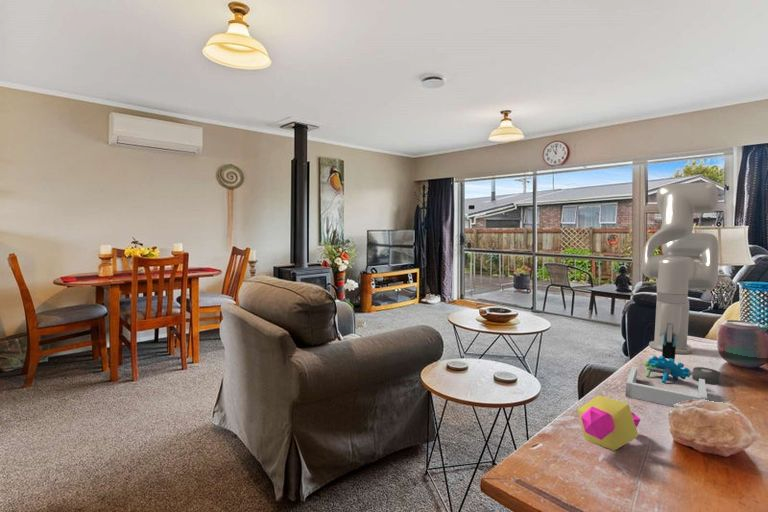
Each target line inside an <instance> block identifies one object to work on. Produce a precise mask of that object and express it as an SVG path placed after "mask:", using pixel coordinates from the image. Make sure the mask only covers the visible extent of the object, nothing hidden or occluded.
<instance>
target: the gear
mask: <svg viewBox="0 0 768 512" xmlns="http://www.w3.org/2000/svg"><path fill="white" fill-rule="evenodd" d="M675 361H676V359H671V358H669V359H667V358H665V357H664V356H662V355H660V356H659V357H657V356H656V355H653V356H652V357H649V358H648V360H646V361H645V363H644V367H646V369H647V372H646V375H645V377H646V378H648V377H649V378H650V376H651V373H657V374H662V375H663V376H662V379H661V382H662V384H666V383H667V380H668V377H669V375H670V376H671V377H672V378H673V379H675V380H676V379H682V380H686V378H690V377H691V373H690V372H691V370H690V369H689V368H688V367H684V366H685V364H684V363H683V362H678V363H677V364H676V362H675Z"/></svg>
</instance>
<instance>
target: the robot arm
mask: <svg viewBox="0 0 768 512" xmlns="http://www.w3.org/2000/svg"><path fill="white" fill-rule="evenodd" d="M656 204H657V208H658V211H659V214H660V217H661V228H659V230H657V231H656V232H654V233H653V234H652V235H651V236H650V237H649V239H648V240H647V241H646V243H645V244H644V247H643V252H642V261H641V271H642V274H643V275H644V276H645V277H647V278H650V279H655V284H656V302H655V303H656V305H655V306H656V307H655V321H654V322H655V323H654V324H655V325H654V326H655V327H654V340H652V341H649V343H648V346H649V347H650V348H652V349H654V350H657V351H660V352H662V353H661V356H664V357H665V359H666V360H669V358H671V359H674V360H676V354H680V355H685V354H691V353H693V348H692V347H691V346H689V345H688V333H689V332H688V331H689V318H690V317H689V315H690V300H689V298H688V296H689V290H699V291H711V290H714V289H715V288H716V287H717V285H718V282H719V281H718V280H719V254H720V253H719V252H720V251H719V240H718V238H717V236H716V235H714V234H713V233H708V232H693V230H694V216H695V215H694V214H711V213H712V214H713V213H714V212H715V211H716V210H717V208H718V207H719V206H718V205H719V192H718V188H717V185H716V184H715V183H714V182H688V183H686V182H684V183H683V182H682V183H671V184H665V185H662V186H660V187H659V188H658V189H657V191H656ZM660 246H661V251H662V254H663V255H660V254H658V255H657V254H654V252H655V250H657V248H659V247H660Z"/></svg>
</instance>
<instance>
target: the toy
mask: <svg viewBox="0 0 768 512" xmlns="http://www.w3.org/2000/svg"><path fill="white" fill-rule="evenodd" d="M577 414H578V418H579V420H580V421H579V422H580V425H581V428H582V433H583V438H584V440H586V441H588V442H591V443H594V444H597V445H599V446H602V447H604V448H607V449H610V450H612V451H616V450H618V449H620V448H621V447H623V446H624V445H626V444H627V443H629V442H632V441H633V440H635V439H636V438H638V437H639V434H638V431H637V427H638V426H639V424H640V422H641V418H640V417H639V416H638V415H636V414H635V412H632V410H631V408H630V404H629V403H627V402H622V401H620V400H617V399H614V398H610V397H606V396H604V395H599V394H598V395H596V396H595V397H593V398H592V399H590V400H589V401H587V402H586V403H585V404H583V405H582V406H580V407H578V408H577Z"/></svg>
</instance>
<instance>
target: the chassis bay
mask: <svg viewBox="0 0 768 512" xmlns="http://www.w3.org/2000/svg"><path fill="white" fill-rule="evenodd" d="M637 374H638V367H637V366H631V368H630V372H629V374H628V377H627V380H626V383H625V397H627V396H629V397H628V398H632V397H633V398H632V399H637V400H640V401H641V400H642V401H646V402H649V403H650V402H651V403H655V404H658V405H659V404H660V405H664V406H669V407H672V406H673V405H674V404H676V403H679V402H682V401H686V400H693V399H705V400H707V401H708V394H707V387H706V385H707V384H705V379H699V382H698V384H697V385H698V386H697V387H698V388H697V394H698V395H696V394H692V393H687V392H681V391H676V390H672V389H668V388H667V389H666V388H663V387H662V388H661V387H656V386H652V385H648V384H647V385H646V384H642V383H637V378H638V377H637Z"/></svg>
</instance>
